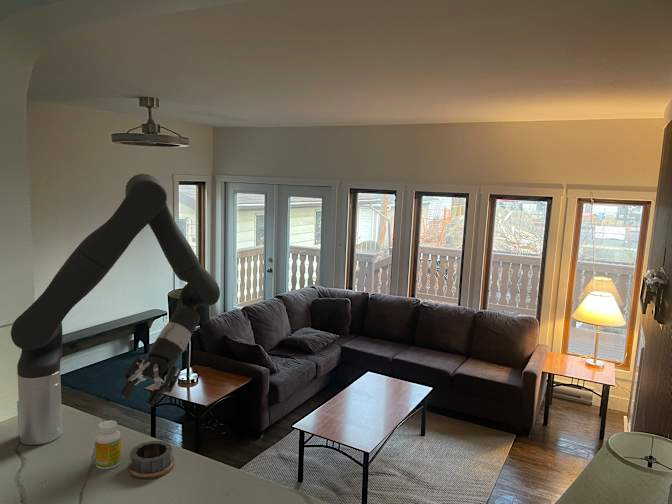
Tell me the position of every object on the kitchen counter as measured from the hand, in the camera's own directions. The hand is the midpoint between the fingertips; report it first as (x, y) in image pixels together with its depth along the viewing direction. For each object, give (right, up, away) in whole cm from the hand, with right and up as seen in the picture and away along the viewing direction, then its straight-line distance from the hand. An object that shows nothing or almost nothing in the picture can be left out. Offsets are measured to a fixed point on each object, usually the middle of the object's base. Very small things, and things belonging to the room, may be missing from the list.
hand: (136, 401), depth 123 cm
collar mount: (+6, -13, -6) cm, 16 cm away
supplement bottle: (-4, -13, -6) cm, 15 cm away
